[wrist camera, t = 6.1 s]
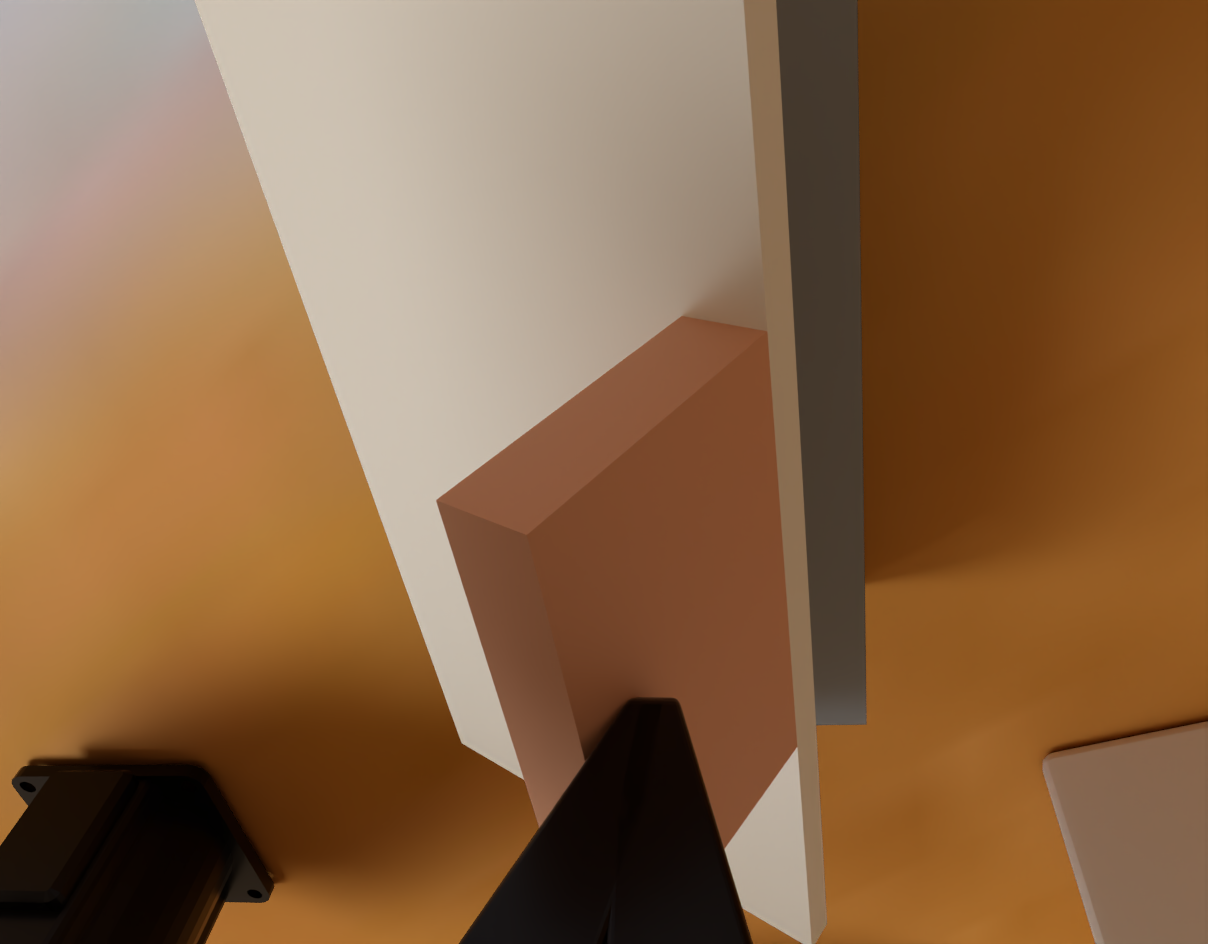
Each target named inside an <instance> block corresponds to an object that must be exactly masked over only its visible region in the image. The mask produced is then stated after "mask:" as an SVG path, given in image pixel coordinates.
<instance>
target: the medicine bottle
mask: <svg viewBox="0 0 1208 944" xmlns="http://www.w3.org/2000/svg"><path fill="white" fill-rule="evenodd" d="M1043 774H1044V777H1045V780H1046V783H1047V787H1048V790H1049V793H1050V797H1051V800H1052V803H1053V806H1054V810H1055V813H1056V816H1057V819H1058V823H1059V826H1060V829H1061V832H1062V836H1063V839H1064V842H1065V846H1066V849H1067V852H1068V855H1069V859H1070V862H1071V865H1072V868H1073V872H1074V875H1075V878H1076V881H1077V885H1078V888H1079V891H1080V894H1081V898H1082V901H1083V904H1084V908H1085V911H1086V914H1087V917H1088V921H1089V924H1090V927H1091V930H1092V934H1093V937H1094V940H1095V943H1096V944H1208V721H1206V722H1201V723H1196V724H1191V725H1186V726H1181V727H1176V728H1171V729H1166V730H1162V731H1157V732H1152V733H1147V734H1142V735H1137V736H1132V737H1127V738H1122V739H1117V740H1112V741H1107V742H1102V743H1098V744H1093V745H1088V746H1083V747H1078V748H1073V749H1068V750H1063V751H1058V752H1053V753H1051V754H1049V755H1047V756H1046V757H1045V758H1044V759H1043Z"/></svg>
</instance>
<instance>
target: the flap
mask: <svg viewBox="0 0 1208 944" xmlns="http://www.w3.org/2000/svg"><path fill="white" fill-rule="evenodd" d="M195 3H196V6H197V9H198V12H199V14H200V17H201V20H202V23H203V25H204V28H205V31H206V34H207V37H208V39H209V42H210V45H211V48H212V50H213V53H214V56H215V59H216V62H217V64H218V67H219V70H220V73H221V76H222V78H223V81H224V84H225V87H226V89H227V92H228V95H229V98H230V101H231V103H232V106H233V109H234V112H235V114H236V117H237V120H238V123H239V126H240V128H241V131H242V134H243V137H244V139H245V142H246V145H247V148H248V151H249V153H250V156H251V159H252V162H253V164H254V167H255V170H256V173H257V176H258V178H259V181H260V184H261V187H262V190H263V192H264V195H265V198H266V201H267V203H268V206H269V209H270V212H271V215H272V217H273V220H274V223H275V226H276V228H277V231H278V234H279V237H280V240H281V242H282V245H283V248H284V251H285V253H286V256H287V259H288V262H289V265H290V267H291V270H292V273H293V276H294V279H295V281H296V284H297V287H298V290H299V292H300V295H301V298H302V301H303V304H304V306H305V309H306V312H307V315H308V317H309V320H310V323H311V326H312V329H313V331H314V334H315V337H316V340H317V342H318V345H319V348H320V351H321V354H322V356H323V359H324V362H325V365H326V367H327V370H328V373H329V376H330V379H331V381H332V384H333V387H334V390H335V393H336V395H337V398H338V401H339V404H340V406H341V409H342V412H343V415H344V418H345V420H346V423H347V426H348V429H349V431H350V434H351V437H352V440H353V443H354V445H355V448H356V451H357V454H358V456H359V459H360V462H361V465H362V468H363V470H364V473H365V476H366V479H367V482H368V484H369V487H370V490H371V493H372V495H373V498H374V501H375V504H376V507H377V509H378V512H379V515H380V518H381V520H382V523H383V526H384V529H385V532H386V534H387V537H388V540H389V543H390V545H391V548H392V551H393V554H394V557H395V559H396V562H397V565H398V568H399V570H400V573H401V576H402V579H403V582H404V584H405V587H406V590H407V593H408V596H409V598H410V601H411V604H412V607H413V609H414V612H415V615H416V618H417V621H418V623H419V626H420V629H421V632H422V634H423V637H424V640H425V643H426V646H427V648H428V651H429V654H430V657H431V659H432V662H433V665H434V668H435V671H436V673H437V676H438V679H439V682H440V685H441V687H442V690H443V693H444V696H445V698H446V701H447V704H448V707H449V710H450V712H451V715H452V718H453V721H454V723H455V726H456V729H457V732H458V735H459V737H460V740H461V743H462V744H464V745H466V746H467V747H469V748H471V749H472V750H474V751H476V752H478V753H479V754H481V755H483V756H484V757H486V758H488V759H489V760H491V761H493V762H495V763H496V764H498V765H500V766H501V767H503V768H505V769H506V770H508V771H510V772H512V773H513V774H515V775H517V776H518V777H520V778H522V779H523V780H524V781H525V784H526V787H527V790H528V794H529V797H530V800H531V803H532V806H533V809H534V813H535V816H536V819H537V822H538V825H539V828H540V826H541V825H542V823H543V822H544V820H545V819H546V817H547V816H548V815H549V813H550V812H551V810H552V809H553V807H554V806H555V804H556V803H557V802H558V800H559V799H560V797H561V796H562V794H563V793H564V792H565V790H566V789H567V787H568V786H569V784H570V783H571V781H572V780H573V779H574V777H575V776H576V774H577V773H578V771H579V770H580V768H581V767H582V766H583V764H584V763H585V761H586V760H587V758H588V757H589V756H590V754H591V753H592V751H593V750H594V748H595V747H596V745H597V744H598V743H599V741H600V740H601V738H602V737H603V735H604V734H605V733H606V731H607V730H608V728H609V727H610V725H611V724H612V722H613V721H614V720H615V718H616V717H617V715H618V714H619V712H620V711H621V709H622V708H623V707H624V705H625V704H626V703H627V702H628V701H629V700H630V699H632V698H636V697H672V698H675V699H677V700H678V701H679V702H680V705H681V708H682V711H683V714H684V717H685V721H686V724H687V727H688V731H689V734H690V737H691V740H692V744H693V747H694V750H695V754H696V757H697V760H698V764H699V767H700V770H701V774H702V777H703V780H704V783H705V787H706V790H707V793H708V797H709V800H710V803H711V807H712V810H713V813H714V816H715V820H716V823H717V826H718V830H719V833H720V836H721V840H722V843H723V846H724V850H725V853H726V856H727V859H728V863H729V866H730V869H731V873H732V876H733V879H734V883H735V886H736V889H737V893H738V896H739V899H740V902H741V906H742V908H743V909H745V910H746V911H748V912H750V913H751V914H753V915H755V916H757V917H758V918H760V919H762V920H763V921H765V922H767V923H768V924H770V925H772V926H774V927H775V928H777V929H779V930H780V931H782V932H784V933H785V934H787V935H789V936H791V937H792V938H794V939H796V940H797V941H799V942H801V943H802V944H815V943H816V942H817V940H818V938H819V936H820V935H821V933H822V931H823V930H824V928H825V926H826V925H827V914H826V896H825V878H824V860H823V842H822V823H821V805H820V787H819V769H818V751H817V733H816V715H815V697H814V678H813V660H812V642H811V624H810V606H809V588H808V570H807V551H806V533H805V515H804V497H803V479H802V461H801V443H800V425H799V406H798V388H797V370H796V352H795V334H794V316H793V298H792V280H791V261H790V243H789V225H788V207H787V189H786V171H785V153H784V135H783V116H782V98H781V80H780V62H779V44H778V26H777V8H776V0H195Z"/></svg>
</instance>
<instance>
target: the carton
mask: <svg viewBox="0 0 1208 944" xmlns="http://www.w3.org/2000/svg"><path fill="white" fill-rule="evenodd" d="M776 8H777V26H778V44H779V62H780V80H781V98H782V116H783V135H784V153H785V171H786V189H787V207H788V225H789V243H790V261H791V280H792V298H793V316H794V334H795V352H796V370H797V388H798V406H799V425H800V443H801V461H802V479H803V497H804V515H805V533H806V551H807V570H808V588H809V606H810V624H811V642H812V660H813V678H814V697H815V715H816V725H864V724H866V645H865V565H864V486H863V407H862V328H861V248H860V169H859V90H858V11H857V0H776Z"/></svg>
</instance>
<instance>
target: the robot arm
mask: <svg viewBox="0 0 1208 944" xmlns="http://www.w3.org/2000/svg"><path fill="white" fill-rule="evenodd" d="M12 785H13V787H14V788H15V789H16V791H17V792H18V793H19V795H20V796H21V797H22V798H23V800H24V801H25V802H26V804H27V805H28V808H27V809H26V811H25V812H24V813H23V815H22V816H21V818H20V819H19V820H18V822H17V823H16V825H15V826H14V827H13V829H12V830H11V832H10V833H9V834H8V836H7V837H6V839H5V840H4V841H3V843H2V844H1V846H0V944H205V943H206V941H207V939H208V937H209V935H210V932H211V930H212V928H213V926H214V924H215V922H216V920H217V918H218V915H219V913H220V911H221V909H222V907H223V905H224V903H225V902H251V903H262V902H266V901H268V900H269V898H270V895H271V893H272V891H273V889H274V883H273V881H272V880H271V878H270V876H269V875H268V873H267V871H266V870H265V868H264V866H263V865H262V863H261V861H260V859H259V858H258V856H257V854H256V853H255V851H254V849H253V848H252V846H251V844H250V843H249V841H248V839H247V837H246V836H245V834H244V832H243V831H242V829H241V827H240V826H239V824H238V822H237V821H236V819H235V817H234V815H233V814H232V812H231V810H230V809H229V807H228V805H227V804H226V802H225V800H224V799H223V797H222V795H221V794H220V792H219V790H218V788H217V787H216V785H215V783H214V782H213V780H212V778H211V777H210V775H209V774H208V773H207V772H206V771H205V770H203V769H202V768H200V767H197V766H195V765H80V766H24V767H22V768H21V769H20V770H19V771H18V773H17V774H16V775H15V777H14V778H13V779H12ZM459 944H753V942H752V939H751V936H750V932H749V929H748V926H747V922H746V919H745V916H744V912H743V909H742V906H741V902H740V899H739V896H738V893H737V889H736V886H735V883H734V879H733V876H732V873H731V869H730V866H729V863H728V859H727V856H726V853H725V850H724V846H723V843H722V840H721V836H720V833H719V830H718V826H717V823H716V820H715V816H714V813H713V810H712V807H711V803H710V800H709V797H708V793H707V790H706V787H705V783H704V780H703V777H702V774H701V770H700V767H699V764H698V760H697V757H696V754H695V750H694V747H693V744H692V740H691V737H690V734H689V731H688V727H687V724H686V721H685V717H684V714H683V711H682V708H681V705H680V702H679V701H678V700H677V699H675V698H672V697H636V698H632V699H630V700H629V701H628V702H627V703H626V704H625V705H624V707H623V708H622V709H621V711H620V712H619V714H618V715H617V717H616V718H615V720H614V721H613V722H612V724H611V725H610V727H609V728H608V730H607V731H606V733H605V734H604V735H603V737H602V738H601V740H600V741H599V743H598V744H597V745H596V747H595V748H594V750H593V751H592V753H591V754H590V756H589V757H588V758H587V760H586V761H585V763H584V764H583V766H582V767H581V768H580V770H579V771H578V773H577V774H576V776H575V777H574V779H573V780H572V781H571V783H570V784H569V786H568V787H567V789H566V790H565V792H564V793H563V794H562V796H561V797H560V799H559V800H558V802H557V803H556V804H555V806H554V807H553V809H552V810H551V812H550V813H549V815H548V816H547V817H546V819H545V820H544V822H543V823H542V825H541V826H540V828H539V829H538V830H537V832H536V833H535V835H534V836H533V838H532V839H531V840H530V842H529V843H528V845H527V846H526V848H525V849H524V851H523V852H522V853H521V855H520V856H519V858H518V859H517V861H516V862H515V863H514V865H513V866H512V868H511V869H510V871H509V872H508V874H507V875H506V876H505V878H504V879H503V881H502V882H501V884H500V885H499V887H498V888H497V889H496V891H495V892H494V894H493V895H492V897H491V898H490V899H489V901H488V902H487V904H486V905H485V907H484V908H483V910H482V911H481V912H480V914H479V915H478V917H477V918H476V920H475V921H474V922H473V924H472V925H471V927H470V928H469V930H468V931H467V933H466V934H465V935H464V937H463V938H462V940H461V941H460V943H459Z"/></svg>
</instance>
